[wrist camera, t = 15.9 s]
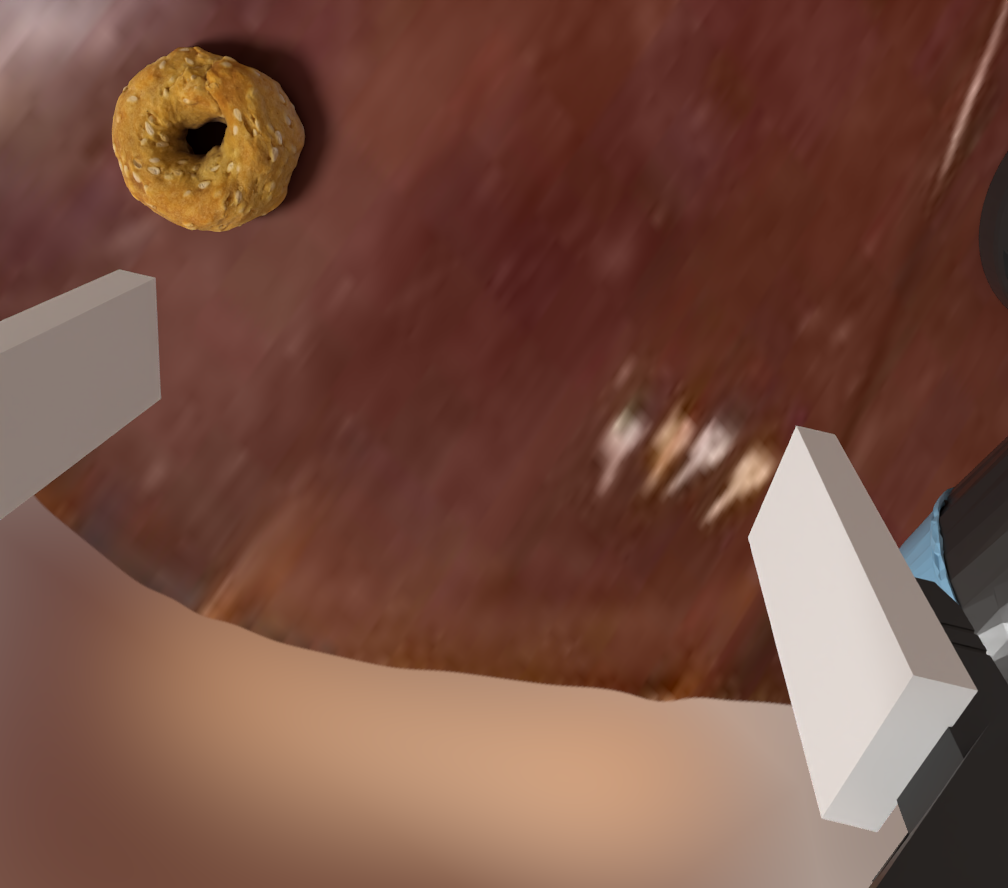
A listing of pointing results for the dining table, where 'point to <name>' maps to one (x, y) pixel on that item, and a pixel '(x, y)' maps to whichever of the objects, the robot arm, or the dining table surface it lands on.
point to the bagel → (224, 169)
